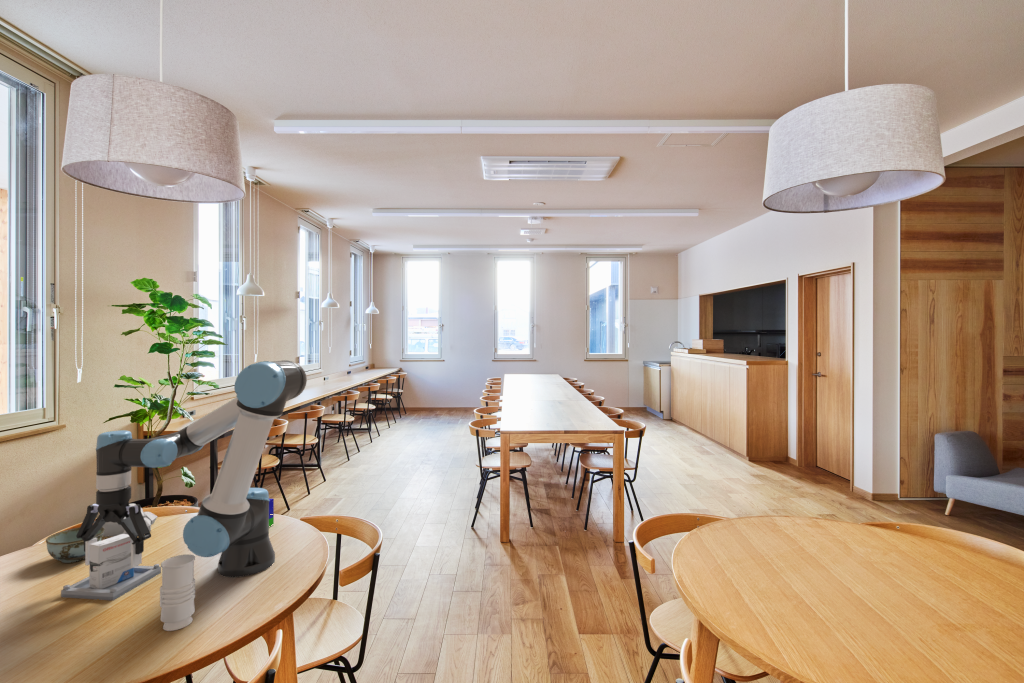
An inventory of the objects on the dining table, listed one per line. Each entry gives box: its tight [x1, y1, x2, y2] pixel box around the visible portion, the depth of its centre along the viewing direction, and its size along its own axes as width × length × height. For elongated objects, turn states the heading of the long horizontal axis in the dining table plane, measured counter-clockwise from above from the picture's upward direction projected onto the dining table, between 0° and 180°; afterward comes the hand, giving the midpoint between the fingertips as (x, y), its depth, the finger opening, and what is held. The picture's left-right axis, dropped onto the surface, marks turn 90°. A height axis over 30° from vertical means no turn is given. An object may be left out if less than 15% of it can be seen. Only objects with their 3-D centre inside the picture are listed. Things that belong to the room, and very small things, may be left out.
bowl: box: [45, 526, 105, 564], centre depth 148 cm, size 14×13×8 cm
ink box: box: [88, 534, 134, 589], centre depth 133 cm, size 8×5×12 cm, turn 157°
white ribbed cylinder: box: [159, 553, 196, 632], centre depth 115 cm, size 7×7×15 cm
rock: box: [93, 503, 158, 538], centre depth 171 cm, size 18×20×10 cm
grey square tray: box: [60, 563, 162, 601], centre depth 133 cm, size 15×15×3 cm
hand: (113, 564), depth 133 cm, fingers open, 13 cm apart
